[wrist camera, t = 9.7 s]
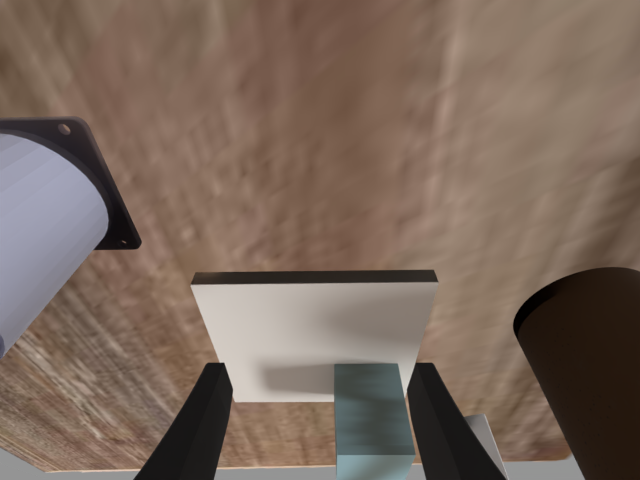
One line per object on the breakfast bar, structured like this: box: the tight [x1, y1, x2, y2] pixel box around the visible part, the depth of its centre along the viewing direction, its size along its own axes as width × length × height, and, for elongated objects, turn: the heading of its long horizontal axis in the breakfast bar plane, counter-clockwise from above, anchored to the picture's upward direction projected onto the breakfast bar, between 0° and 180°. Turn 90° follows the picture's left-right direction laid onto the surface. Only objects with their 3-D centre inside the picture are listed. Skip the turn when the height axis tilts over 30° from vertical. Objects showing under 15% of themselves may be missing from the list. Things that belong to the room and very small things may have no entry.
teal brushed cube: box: [334, 364, 416, 480], centre depth 26 cm, size 5×5×7 cm
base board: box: [190, 270, 439, 402], centre depth 27 cm, size 16×16×1 cm
